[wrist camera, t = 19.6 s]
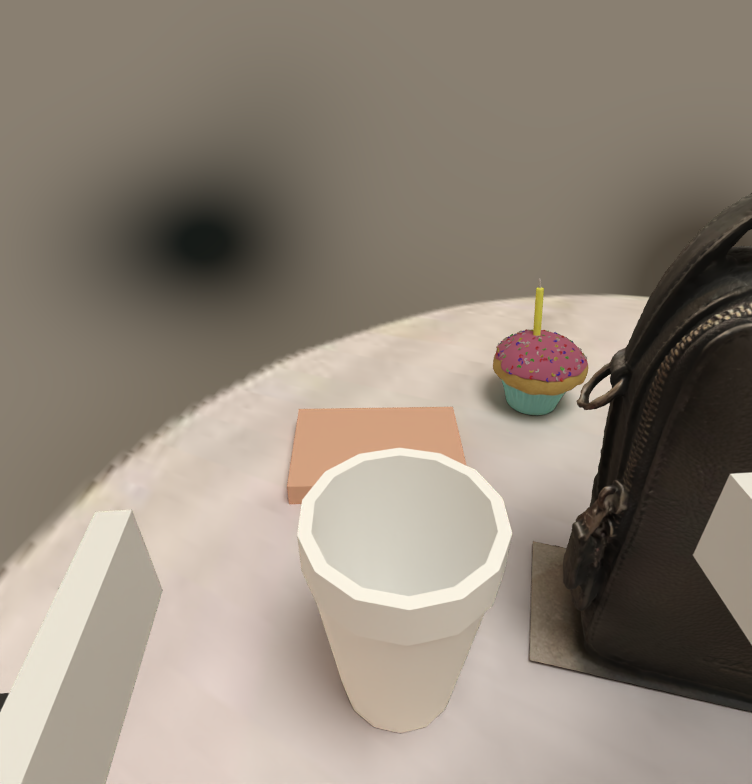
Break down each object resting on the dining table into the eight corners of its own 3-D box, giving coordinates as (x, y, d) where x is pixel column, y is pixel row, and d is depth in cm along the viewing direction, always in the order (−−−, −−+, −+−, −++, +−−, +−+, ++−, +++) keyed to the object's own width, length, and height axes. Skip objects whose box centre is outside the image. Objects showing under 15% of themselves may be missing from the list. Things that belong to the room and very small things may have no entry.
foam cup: (446, 801, 27) (472, 648, 20) (284, 716, 30) (255, 558, 23) (498, 637, 34) (531, 479, 27) (362, 583, 37) (358, 429, 30)
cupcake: (472, 387, 57) (484, 276, 50) (543, 371, 59) (564, 263, 52) (518, 437, 50) (540, 316, 43) (596, 416, 53) (628, 300, 46)
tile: (470, 483, 43) (452, 406, 51) (287, 486, 42) (298, 409, 51) (467, 505, 44) (450, 426, 52) (289, 508, 44) (301, 429, 52)
